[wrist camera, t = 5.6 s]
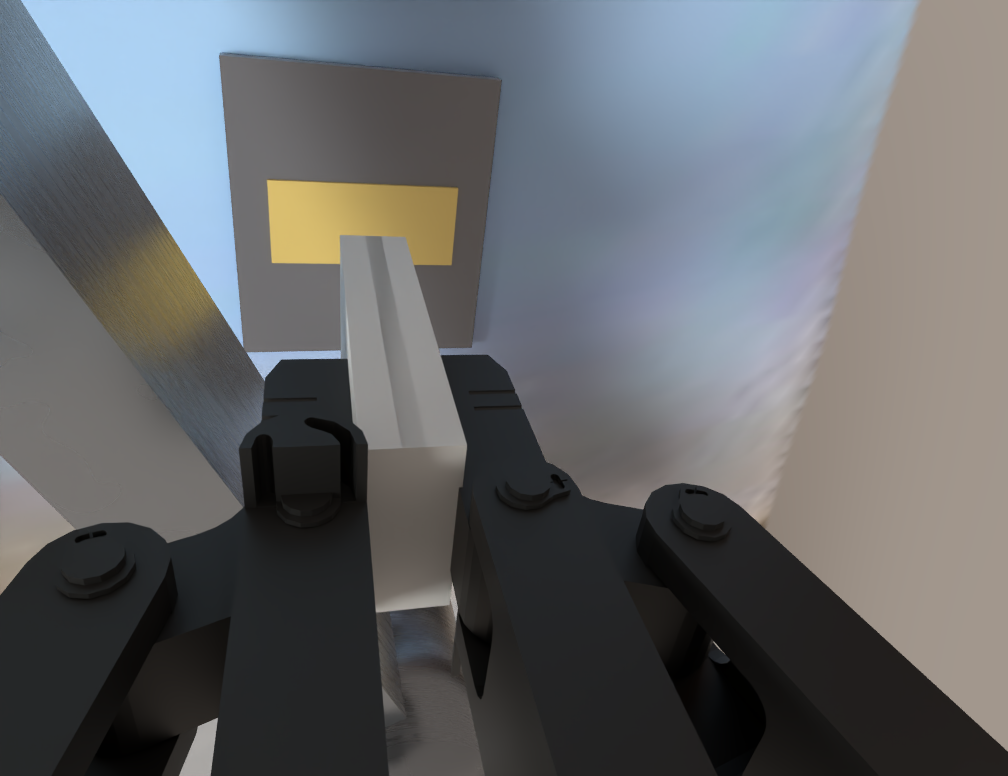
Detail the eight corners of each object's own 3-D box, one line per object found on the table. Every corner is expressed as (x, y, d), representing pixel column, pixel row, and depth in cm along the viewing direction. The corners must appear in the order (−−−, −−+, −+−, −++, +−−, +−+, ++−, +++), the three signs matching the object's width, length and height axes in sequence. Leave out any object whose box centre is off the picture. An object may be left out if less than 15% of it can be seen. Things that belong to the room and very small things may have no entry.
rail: (335, 683, 20) (348, 872, 16) (-691, -529, 6) (-2134, -1176, 3) (469, 627, 20) (515, 801, 16) (-267, -671, 7) (-1033, -1480, 3)
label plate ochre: (244, 346, 18) (243, 353, 18) (220, 52, 15) (218, 55, 14) (469, 342, 20) (472, 348, 20) (498, 77, 16) (502, 81, 16)
